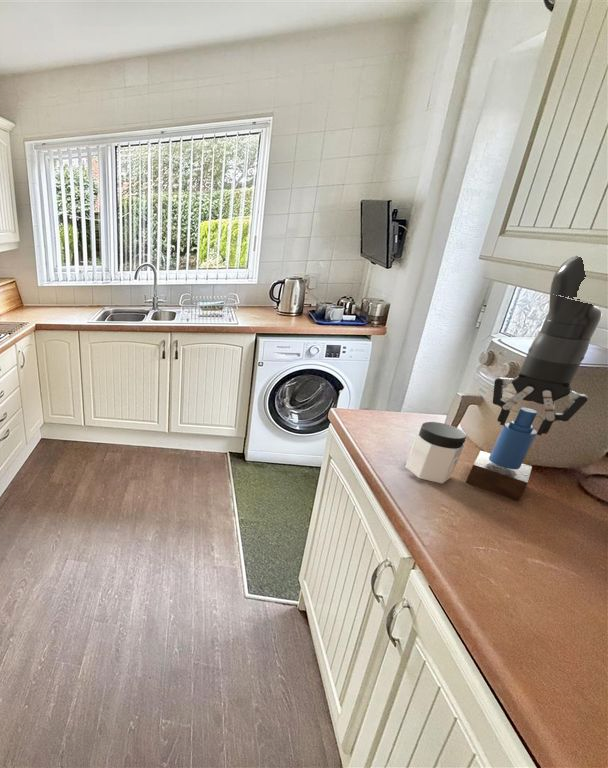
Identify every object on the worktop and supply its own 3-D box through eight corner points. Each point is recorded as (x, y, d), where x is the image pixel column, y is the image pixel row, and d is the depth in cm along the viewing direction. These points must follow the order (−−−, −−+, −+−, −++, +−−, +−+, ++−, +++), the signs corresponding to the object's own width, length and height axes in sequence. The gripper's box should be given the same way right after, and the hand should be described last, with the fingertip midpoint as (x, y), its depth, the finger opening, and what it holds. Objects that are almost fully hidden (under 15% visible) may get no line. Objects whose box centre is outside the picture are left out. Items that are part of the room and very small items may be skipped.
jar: (439, 487, 93) (457, 443, 88) (400, 470, 99) (414, 427, 94) (455, 475, 97) (473, 432, 92) (416, 459, 103) (431, 418, 99)
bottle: (521, 463, 92) (547, 410, 86) (518, 472, 88) (545, 418, 83) (490, 453, 95) (514, 402, 90) (486, 462, 92) (510, 409, 87)
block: (523, 484, 94) (532, 466, 92) (518, 501, 88) (527, 482, 86) (473, 467, 100) (480, 450, 98) (465, 482, 95) (473, 464, 93)
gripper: (608, 360, 79) (569, 435, 86) (508, 344, 89) (480, 412, 96) (609, 370, 74) (567, 448, 81) (503, 351, 84) (473, 422, 91)
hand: (520, 428), depth 88 cm, fingers closed on bottle, 5 cm apart
